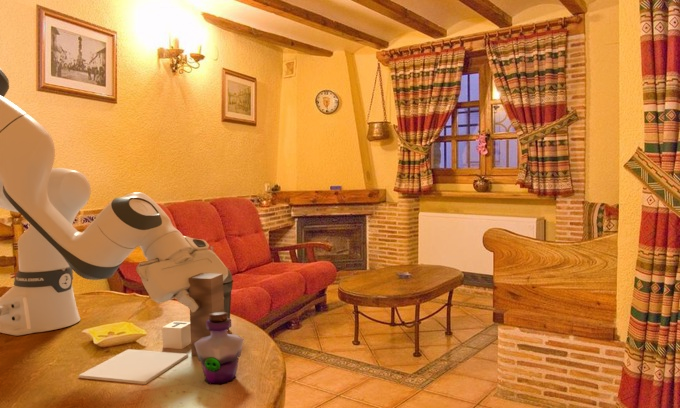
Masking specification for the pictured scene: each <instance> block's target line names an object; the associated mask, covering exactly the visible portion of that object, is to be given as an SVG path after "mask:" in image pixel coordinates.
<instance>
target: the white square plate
mask: <svg viewBox="0 0 680 408" xmlns="http://www.w3.org/2000/svg"><path fill="white" fill-rule="evenodd" d="M188 357H189V354H188V353H182V352H170V351H157V350H144V349H131V348H127V349H125V350H124V351H122V352H120V353H118V354H116V355H114V356H112V357H110V358H109V359H107V360H105V361H103V362H101V363H99V364H97V365H95V366H93V367H91V368H89V369H88V370H86V371H83V372H82V373H80V374H78V378H79V379H89V380H98V381H109V382H115V383H116V382H117V383H127V384H128V383H130V384H139V385H146V384H148V383H150V382H152V381H153V380H154V379H156V378H157V377H159V376H160V375H162V374H164V373H165V372H166V371H168V370H169V369H171V368H172V367H174V366H175V365H177V364H178V363H180V362H182V361H183V360H185V359H186V358H188Z"/></svg>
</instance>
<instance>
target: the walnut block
mask: <svg viewBox="0 0 680 408" xmlns="http://www.w3.org/2000/svg"><path fill="white" fill-rule="evenodd" d="M189 284H190V288H189V294H188V296H190V297H191V298H192V299H194V300H198V301H199V303H200V304H201V305H202V307H201V308H200V309H199V311H196V312H191V310H190V309H189V322H190V329H191V344H190V348H191V351H190V352H191V356H193V357H198V355H197V351H196V348H195V344H194V343H196V342H197V341H198V340H199V339H201V338H202V337H206V336H211V331H209V330H208V329H206V321H207V320H209V314H211V313H215V312H224V293H223V274H214V273H200V274H197V275H195V276H192V277H190V278H189Z"/></svg>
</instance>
